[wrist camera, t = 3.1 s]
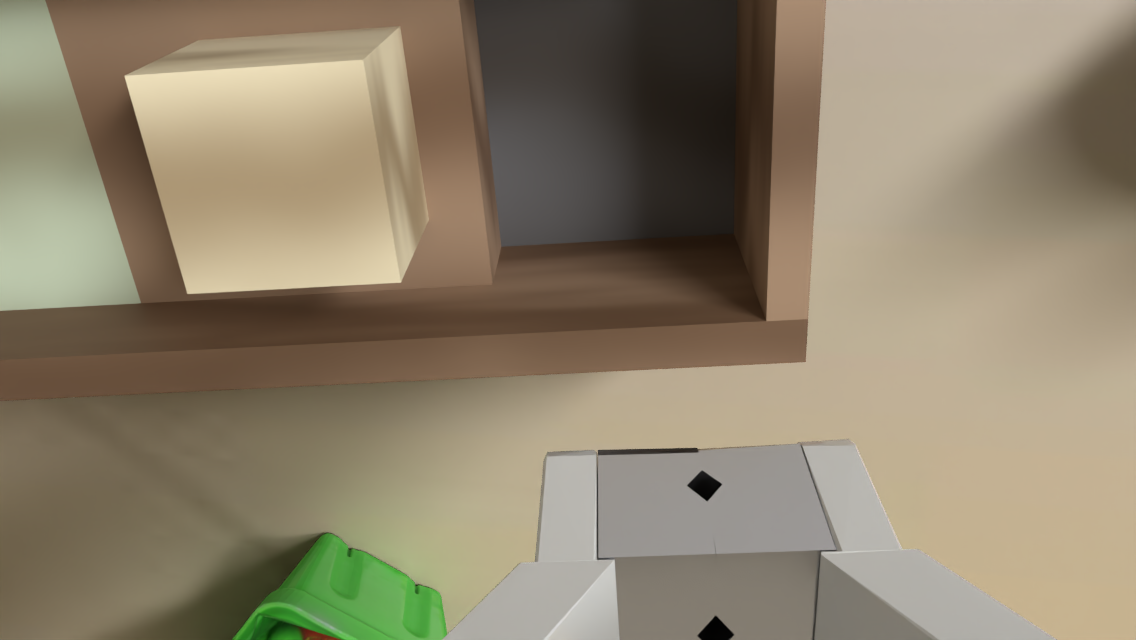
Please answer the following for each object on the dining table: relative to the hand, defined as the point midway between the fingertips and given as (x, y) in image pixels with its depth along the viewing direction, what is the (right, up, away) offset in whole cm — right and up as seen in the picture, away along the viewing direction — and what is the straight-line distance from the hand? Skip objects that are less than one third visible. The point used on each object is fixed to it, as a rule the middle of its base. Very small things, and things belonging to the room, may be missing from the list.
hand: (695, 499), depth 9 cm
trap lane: (-13, +8, +17) cm, 23 cm away
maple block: (-8, +7, +14) cm, 17 cm away
